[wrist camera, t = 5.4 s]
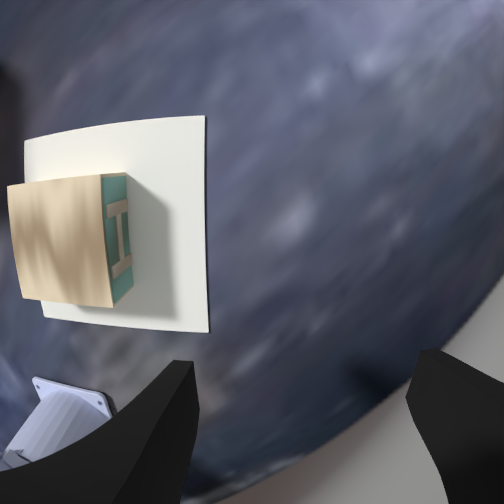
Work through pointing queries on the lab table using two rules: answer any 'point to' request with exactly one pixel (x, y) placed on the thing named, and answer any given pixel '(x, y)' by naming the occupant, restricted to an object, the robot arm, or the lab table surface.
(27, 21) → the lab table surface
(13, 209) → the beech block
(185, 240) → the mat
